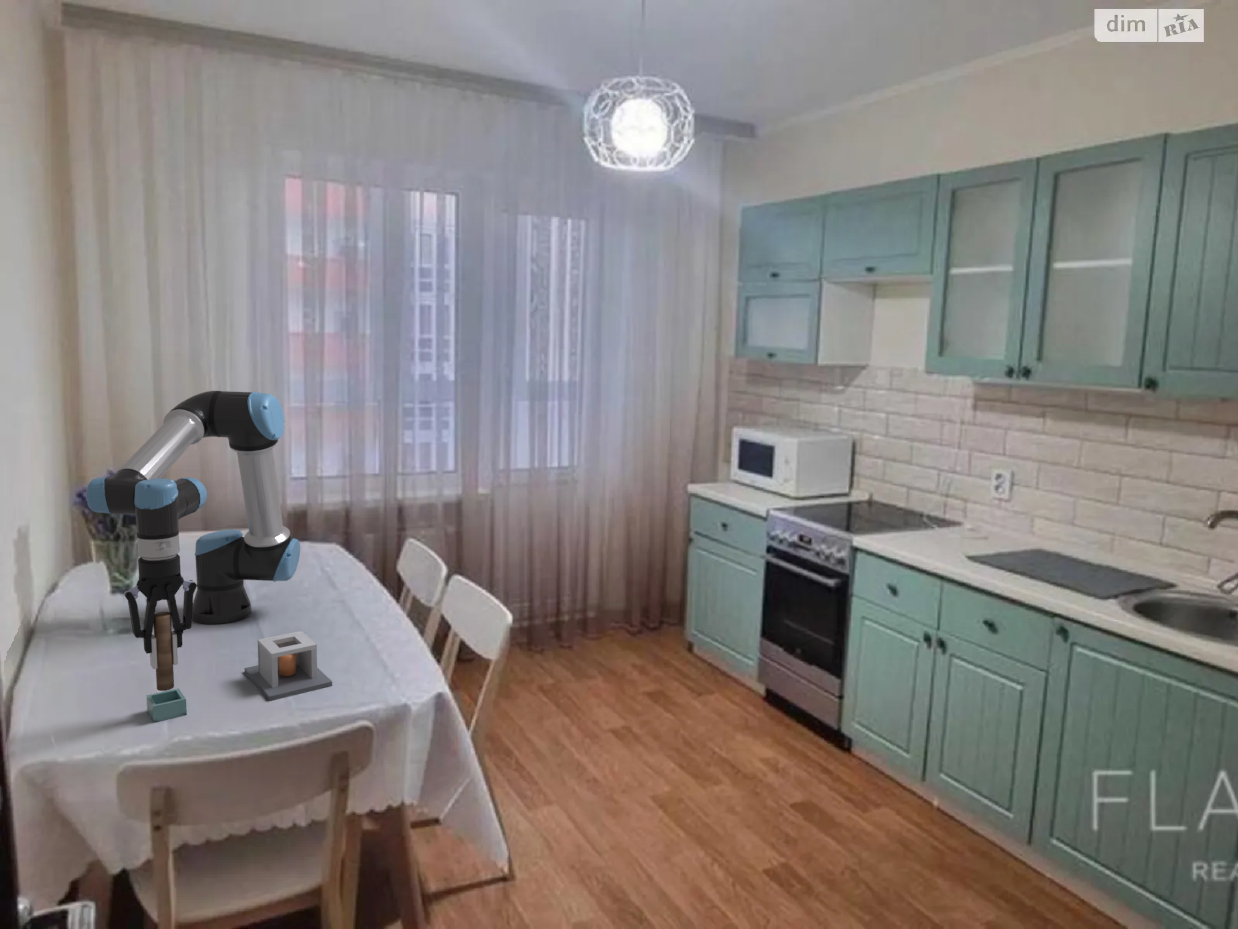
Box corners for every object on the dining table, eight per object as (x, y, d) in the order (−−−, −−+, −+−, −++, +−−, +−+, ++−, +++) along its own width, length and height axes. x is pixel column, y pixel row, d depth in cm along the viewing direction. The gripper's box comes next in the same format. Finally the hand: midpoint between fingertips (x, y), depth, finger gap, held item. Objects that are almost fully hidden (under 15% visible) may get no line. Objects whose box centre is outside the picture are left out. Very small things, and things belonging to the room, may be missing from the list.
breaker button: (276, 671, 198) (276, 653, 198) (293, 668, 201) (292, 650, 200) (282, 677, 196) (281, 659, 195) (298, 673, 198) (298, 655, 197)
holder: (147, 711, 180) (146, 695, 180) (179, 703, 184) (178, 688, 184) (153, 722, 176) (152, 706, 175) (186, 714, 179) (186, 699, 179)
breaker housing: (244, 672, 201) (243, 635, 199) (304, 659, 210) (303, 624, 208) (269, 701, 187) (268, 662, 186) (332, 685, 196) (331, 648, 194)
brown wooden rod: (155, 686, 179) (151, 613, 176) (172, 683, 181) (168, 610, 178) (158, 692, 176) (155, 618, 174) (175, 688, 178) (172, 615, 176)
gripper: (116, 566, 166) (123, 680, 170) (207, 554, 176) (211, 662, 180) (109, 556, 172) (116, 667, 176) (197, 545, 182) (201, 650, 186)
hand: (164, 664), depth 178 cm, fingers closed on brown wooden rod, 3 cm apart
